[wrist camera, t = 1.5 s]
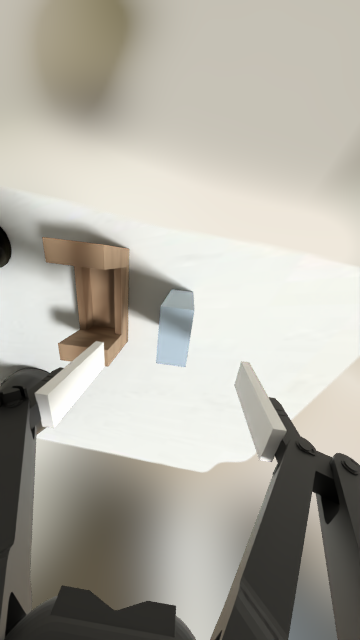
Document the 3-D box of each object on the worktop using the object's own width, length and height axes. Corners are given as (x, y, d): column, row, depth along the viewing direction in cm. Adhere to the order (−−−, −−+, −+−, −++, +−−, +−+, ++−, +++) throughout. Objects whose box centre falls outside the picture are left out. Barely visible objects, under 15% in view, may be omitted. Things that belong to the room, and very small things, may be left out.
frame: (91, 336, 36) (60, 360, 27) (85, 243, 29) (42, 236, 21) (127, 340, 35) (108, 366, 27) (129, 248, 29) (103, 244, 21)
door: (167, 328, 34) (156, 363, 23) (171, 289, 31) (160, 306, 20) (187, 331, 34) (185, 367, 23) (193, 291, 31) (194, 310, 20)
